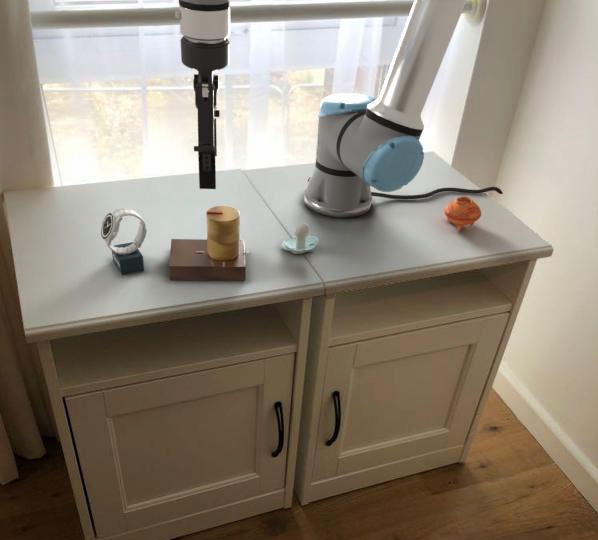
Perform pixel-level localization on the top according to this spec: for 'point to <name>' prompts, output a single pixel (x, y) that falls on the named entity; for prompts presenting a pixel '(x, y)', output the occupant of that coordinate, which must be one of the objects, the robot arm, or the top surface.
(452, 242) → the top surface
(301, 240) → the pacifier
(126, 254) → the watch
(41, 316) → the top surface
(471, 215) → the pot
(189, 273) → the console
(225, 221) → the dial
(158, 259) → the top surface
